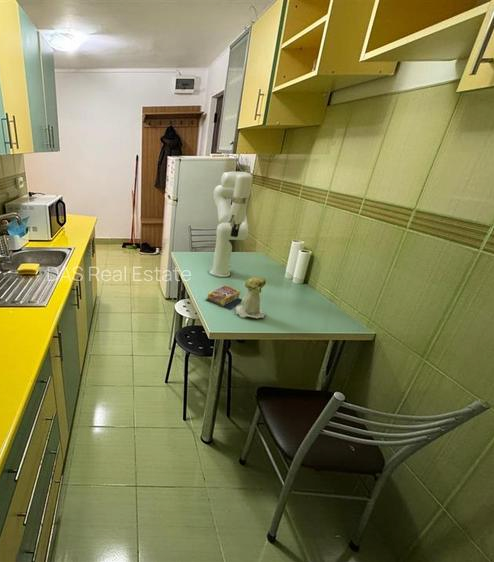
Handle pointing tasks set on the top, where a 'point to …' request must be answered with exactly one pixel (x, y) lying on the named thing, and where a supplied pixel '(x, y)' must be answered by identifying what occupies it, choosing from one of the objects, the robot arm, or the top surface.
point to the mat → (231, 304)
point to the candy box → (223, 295)
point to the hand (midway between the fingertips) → (234, 236)
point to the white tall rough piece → (252, 299)
